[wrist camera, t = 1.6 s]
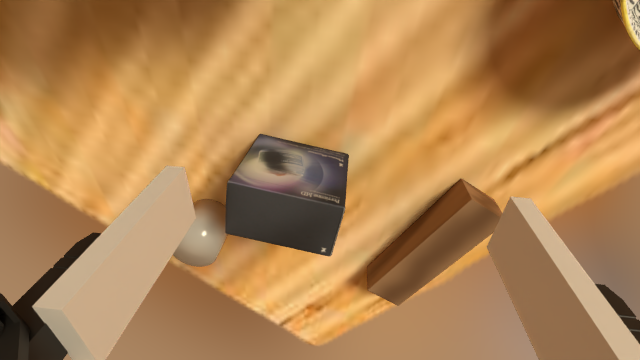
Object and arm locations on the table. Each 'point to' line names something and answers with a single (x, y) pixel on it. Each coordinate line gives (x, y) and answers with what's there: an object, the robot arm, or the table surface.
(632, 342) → the robot arm
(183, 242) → the beige rounded piece
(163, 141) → the table surface
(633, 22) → the bowl
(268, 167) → the small box
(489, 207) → the walnut rail
